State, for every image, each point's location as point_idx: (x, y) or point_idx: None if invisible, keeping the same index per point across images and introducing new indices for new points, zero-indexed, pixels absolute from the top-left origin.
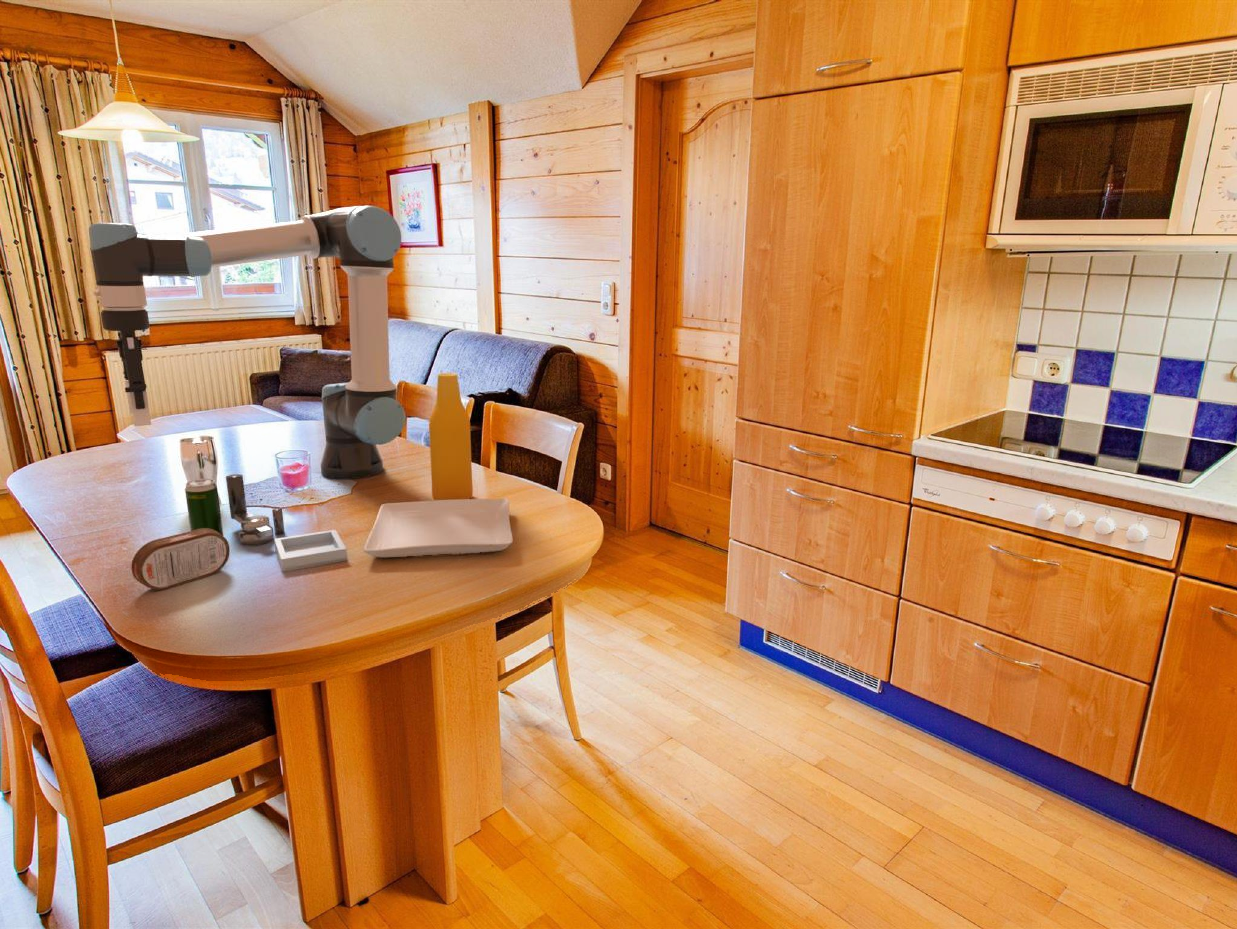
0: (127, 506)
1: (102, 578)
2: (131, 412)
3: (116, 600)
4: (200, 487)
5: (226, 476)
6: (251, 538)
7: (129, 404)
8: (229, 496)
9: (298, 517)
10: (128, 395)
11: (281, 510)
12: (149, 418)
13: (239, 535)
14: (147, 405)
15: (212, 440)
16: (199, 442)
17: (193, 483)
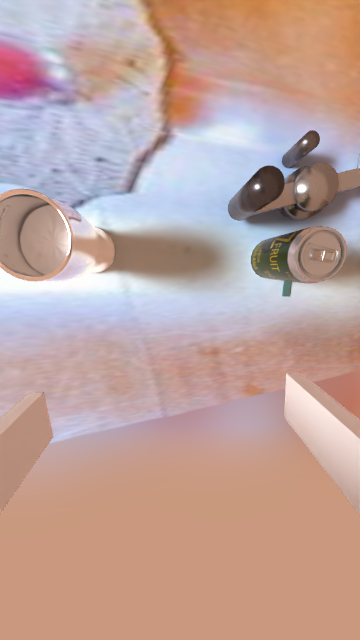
0: (57, 352)
1: (320, 366)
2: (50, 434)
3: None
4: (343, 256)
5: (261, 200)
6: None
7: (32, 461)
8: (258, 210)
9: (230, 115)
10: (6, 499)
11: (317, 133)
12: (313, 385)
13: (303, 217)
14: (354, 418)
15: (45, 195)
16: (72, 232)
17: (318, 267)
